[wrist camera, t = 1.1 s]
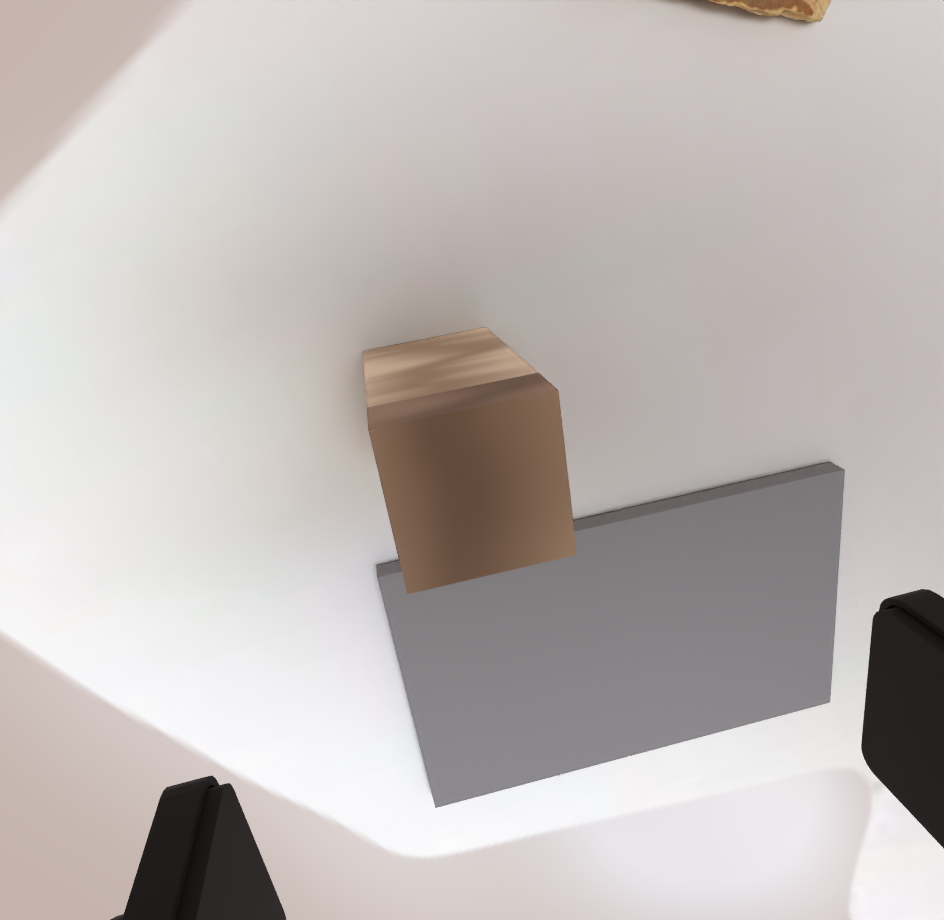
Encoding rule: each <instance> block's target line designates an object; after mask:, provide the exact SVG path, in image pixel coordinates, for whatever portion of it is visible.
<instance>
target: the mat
mask: <svg viewBox="0 0 944 920" xmlns="http://www.w3.org/2000/svg"><path fill="white" fill-rule="evenodd" d="M844 472H845V470H844V469H843V468H841V467H839V466H837V465H835V464H833V463H831V462H828V463H824V464H819V465H815V466H810V467H806V468H802V469H797V470H793V471H788V472H784V473H780V474H775V475H771V476H767V477H762V478H758V479H753V480H749V481H745V482H740V483H736V484H732V485H727V486H723V487H718V488H714V489H710V490H705V491H701V492H697V493H692V494H688V495H683V496H679V497H675V498H670V499H666V500H661V501H657V502H653V503H648V504H644V505H640V506H635V507H631V508H626V509H622V510H618V511H613V512H609V513H605V514H600V515H596V516H591V517H587V518H583V519H578V520H574V521H573V525H574V533H575V542H576V551H577V555H574V556H569V557H565V558H561V559H557V560H552V561H548V562H544V563H540V564H535V565H531V566H527V567H522V568H518V569H514V570H510V571H505V572H501V573H497V574H492V575H488V576H484V577H480V578H475V579H471V580H467V581H463V582H458V583H454V584H450V585H445V586H441V587H437V588H433V589H428V590H424V591H420V592H415V593H411V594H407V592H406V587H405V583H404V579H403V575H402V570H401V566H400V562H399V561H394V562H390V563H386V564H381V565H377V578H378V582H379V586H380V590H381V594H382V598H383V601H384V605H385V609H386V613H387V617H388V621H389V625H390V629H391V633H392V637H393V641H394V645H395V649H396V653H397V657H398V661H399V665H400V669H401V673H402V677H403V681H404V685H405V689H406V693H407V697H408V701H409V705H410V709H411V713H412V716H413V720H414V724H415V728H416V732H417V736H418V740H419V744H420V748H421V752H422V756H423V760H424V764H425V768H426V772H427V776H428V780H429V784H430V788H431V792H432V796H433V800H434V804H435V808H437V807H441V806H444V805H448V804H452V803H456V802H459V801H463V800H467V799H471V798H474V797H478V796H482V795H485V794H489V793H493V792H497V791H500V790H504V789H508V788H512V787H515V786H519V785H523V784H527V783H530V782H534V781H538V780H542V779H545V778H549V777H553V776H556V775H560V774H564V773H568V772H571V771H575V770H579V769H583V768H586V767H590V766H594V765H598V764H601V763H605V762H609V761H613V760H616V759H620V758H624V757H627V756H631V755H635V754H639V753H642V752H646V751H650V750H654V749H657V748H661V747H665V746H669V745H672V744H676V743H680V742H684V741H687V740H691V739H695V738H698V737H702V736H706V735H710V734H713V733H717V732H721V731H725V730H728V729H732V728H736V727H740V726H743V725H747V724H751V723H755V722H758V721H762V720H766V719H769V718H773V717H777V716H781V715H784V714H788V713H792V712H796V711H799V710H803V709H807V708H811V707H814V706H818V705H822V704H826V703H829V702H830V695H831V679H832V663H833V647H834V631H835V615H836V599H837V583H838V567H839V551H840V536H841V520H842V504H843V488H844Z"/></svg>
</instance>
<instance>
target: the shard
mask: <svg viewBox="0 0 944 920" xmlns="http://www.w3.org/2000/svg"><path fill="white" fill-rule="evenodd" d="M709 1H711V2H715V3H717V4H723V5H727V6H736V7H740V8H742V9H745V10H747V11H749V12H752V13H755V14H757V15H766V16H775V17H776V16H779V15H782V16H785V17H787V18H790V19H793V20H806V21H807V22H812V23H814V22H819V21H821V20H822V18H823V16H824V14H825V12H826V10H827V8H828V6H829V4H830V2H831V0H709Z"/></svg>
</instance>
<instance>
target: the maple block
mask: <svg viewBox="0 0 944 920" xmlns="http://www.w3.org/2000/svg"><path fill="white" fill-rule="evenodd" d="M363 363H364V376H365V390H366V403H367V416H368V430H369V434H370V438H371V442H372V447H373V451H374V455H375V459H376V464H377V468H378V472H379V476H380V481H381V485H382V489H383V494H384V498H385V502H386V506H387V511H388V515H389V519H390V523H391V528H392V532H393V536H394V540H395V545H396V549H397V553H398V557H399V562H400V566H401V570H402V575H403V579H404V583H405V587H406V592H407V594H411V593H415V592H420V591H424V590H428V589H433V588H437V587H441V586H445V585H450V584H454V583H458V582H463V581H467V580H471V579H475V578H480V577H484V576H488V575H492V574H497V573H501V572H505V571H510V570H514V569H518V568H522V567H527V566H531V565H535V564H540V563H544V562H548V561H552V560H557V559H561V558H565V557H569V556H574V555H577V551H576V542H575V533H574V525H573V516H572V507H571V498H570V489H569V481H568V472H567V463H566V454H565V446H564V437H563V428H562V419H561V411H560V402H559V393H558V390H557V389H556V388H555V387H554V386H553V385H552V384H551V383H549V382H548V381H547V380H546V379H545V378H544V377H543V376H541V375H540V374H539V373H538V372H537V371H536V370H535V369H533V368H532V367H531V366H530V365H529V364H528V363H527V362H525V361H524V360H523V359H522V358H521V357H520V356H519V355H517V354H516V353H515V352H514V351H513V350H512V349H511V348H509V347H508V346H507V345H506V344H505V343H504V342H503V341H501V340H500V339H499V338H498V337H497V336H496V335H495V334H493V333H492V332H491V331H490V330H489V329H488V328H487V327H483V328H478V329H473V330H468V331H463V332H458V333H452V334H447V335H442V336H437V337H432V338H427V339H422V340H417V341H411V342H406V343H401V344H396V345H391V346H386V347H381V348H376V349H370V350H365V351H363Z"/></svg>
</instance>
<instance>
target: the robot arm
mask: <svg viewBox="0 0 944 920" xmlns="http://www.w3.org/2000/svg"><path fill="white" fill-rule="evenodd" d="M861 746H862V753H863V756H864V759H865V761H866V763H867V765H868V766H869V768H870V770H871V771H872V772H873V773H874V774H875V776H876V777H877V778H878V779H879V780H880V781H881V782H882V783H883V784H884V785H885V786H886V787H887V788H888V789H889V790H890V791H891V793H892V794H893V795H894V796H895V797H896V798H897V799H898V800H899V801H900V802H901V803H902V804H903V805H904V806H905V807H906V809H907V810H908V811H909V812H910V813H911V814H912V815H913V816H914V817H915V818H916V819H917V820H918V821H919V822H920V823H921V824H922V826H923V827H924V828H925V829H926V830H927V831H928V832H929V833H930V834H931V835H932V836H933V837H934V838H935V839H936V840H937V842H938V843H939V844H940V845H941V846H942V847H943V848H944V598H943V597H941V596H940V595H938V594H936V593H934V592H932V591H930V590H925V589H921V590H917V591H913V592H910V593H906V594H902V595H898V596H894V597H891V598H887V599H884V601H883V602H882V603H881V605H880V609H879V612H876V614H875V615H874V617H873V623H872V634H871V645H870V656H869V667H868V678H867V689H866V700H865V711H864V722H863V733H862V744H861ZM111 920H286V916H285V913H284V910H283V908H282V905H281V903H280V901H279V898H278V896H277V893H276V891H275V888H274V886H273V883H272V881H271V879H270V876H269V874H268V872H267V869H266V866H265V864H264V862H263V859H262V857H261V854H260V852H259V849H258V847H257V845H256V842H255V840H254V837H253V835H252V832H251V830H250V827H249V825H248V823H247V820H246V818H245V815H244V813H243V811H242V808H241V806H240V803H239V801H238V799H237V796H236V793H235V791H234V789H233V787H232V785H231V784H229V783H228V784H223V785H219V784H218V782H217V780H216V779H215V778H214V777H213V776H208V777H204V778H200V779H196V780H193V781H189V782H185V783H181V784H177V785H173V786H170V787H167V788H166V789H165V790H164V791H163V793H162V795H161V798H160V801H159V803H158V807H157V810H156V813H155V816H154V819H153V823H152V826H151V829H150V832H149V835H148V839H147V842H146V845H145V848H144V851H143V855H142V858H141V861H140V864H139V868H138V871H137V874H136V877H135V880H134V883H133V887H132V890H131V893H130V896H129V899H128V903H127V906H126V909H125V912H124V914H123V915H119V916H116V917H115V918H113V919H111Z"/></svg>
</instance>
